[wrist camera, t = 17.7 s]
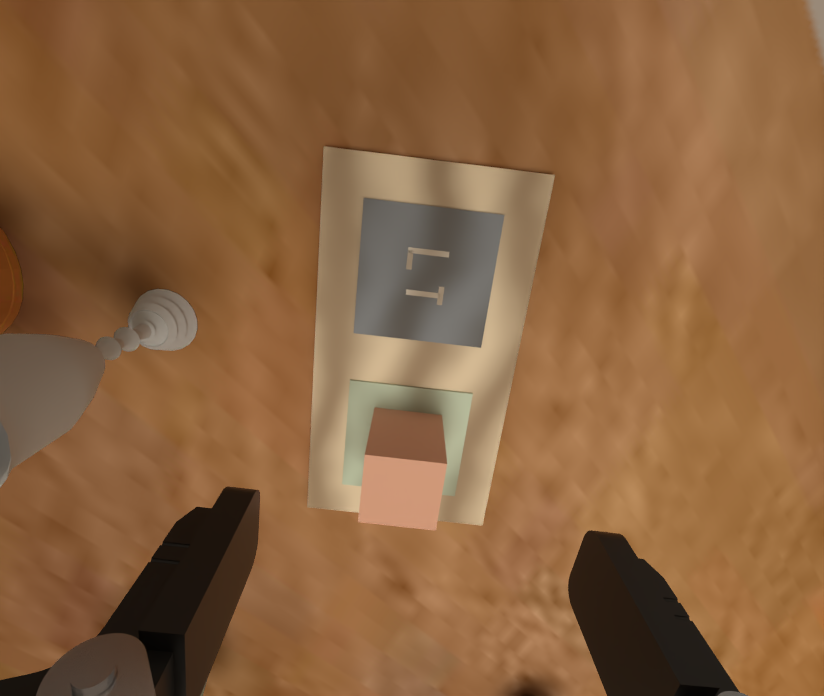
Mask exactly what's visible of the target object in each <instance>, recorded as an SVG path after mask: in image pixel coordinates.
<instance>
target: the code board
mask: <svg viewBox="0 0 824 696" xmlns="http://www.w3.org/2000/svg"><path fill="white" fill-rule="evenodd" d="M554 178H555V175H551V174H543V173H535V172H527V171H519V170H510V169H502V168H494V167H486V166H478V165H470V164H462V163H454V162H446V161H438V160H430V159H422V158H414V157H406V156H398V155H390V154H382V153H374V152H366V151H358V150H350V149H342V148H334V147H326V146H324V150H323V172H322V194H321V216H320V238H319V260H318V282H317V304H316V326H315V348H314V371H313V393H312V415H311V437H310V459H309V481H308V503H307V507H310V508H320V509H330V510H339V511H349V512H358V513H359V507H360V497H361V487H362V477H363V467H364V457H365V451H366V446H367V441H368V436H369V432H370V427H371V422H372V417H373V413H374V408H375V407H376V408H385V409H394V410H402V411H411V412H420V413H428V414H437V415H442V419H443V429H444V438H445V447H446V457H447V468H446V474H445V480H444V486H443V492H442V498H441V503H440V509H439V515H438V521H444V522H454V523H463V524H473V525H483V520H484V515H485V510H486V505H487V501H488V496H489V491H490V486H491V481H492V476H493V472H494V467H495V462H496V457H497V452H498V448H499V443H500V438H501V433H502V428H503V423H504V419H505V414H506V409H507V404H508V399H509V395H510V390H511V385H512V380H513V375H514V370H515V366H516V361H517V356H518V351H519V346H520V341H521V337H522V332H523V327H524V322H525V317H526V313H527V308H528V303H529V298H530V293H531V288H532V284H533V279H534V274H535V269H536V264H537V260H538V255H539V250H540V245H541V240H542V235H543V231H544V226H545V221H546V216H547V211H548V207H549V202H550V197H551V192H552V187H553V182H554Z"/></svg>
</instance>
